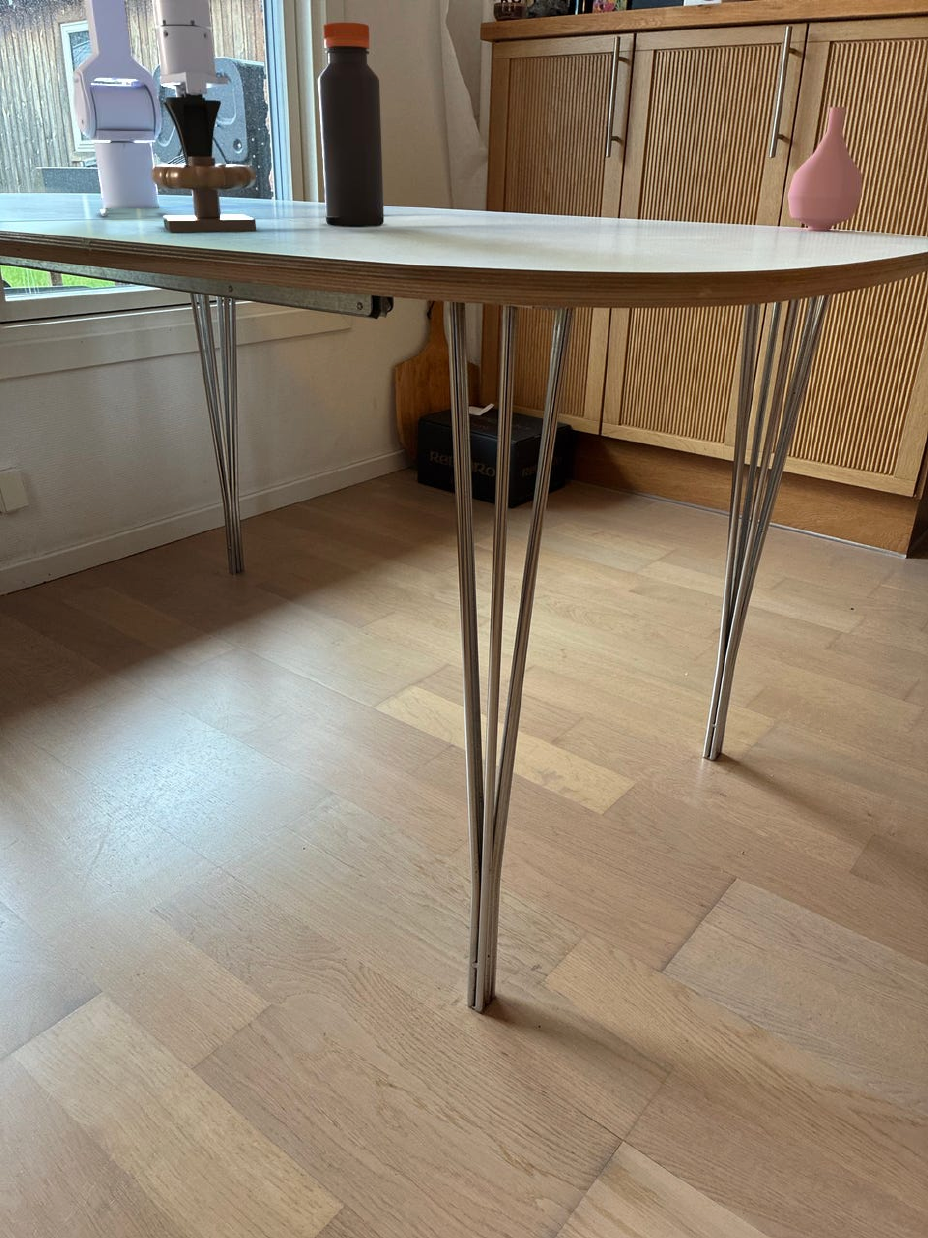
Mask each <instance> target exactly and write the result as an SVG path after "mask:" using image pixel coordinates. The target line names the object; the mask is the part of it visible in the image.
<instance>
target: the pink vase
mask: <svg viewBox="0 0 928 1238" xmlns="http://www.w3.org/2000/svg"><path fill="white" fill-rule="evenodd" d="M845 114H846V106H830V107H829V113H828V121H827V128H826V133H825V134H824V136H823V137H822V139H821V140H820V142H819V144H818V145H817V147H816V148H815V150H814V152H813V154H812V155H811V156H810V157H809V158H807V160H806V161H805V162H804V163H803V164H801V166H800V167H799V168H798V169H796V171H795V172H794V173H793V176H792V179H791V183H790V186H789V188H788V193H787V201H788V203H787V204H788V210H789V217H790V218H792V219H794V220H795V221H798V222H799V223H801V224H803V225H805V226H807V227H808V228H807V230H808V231H815V232H817V231H819V232H821V231H822V232H825V231H826V232H827V231H831V227H834V226H836V225H838V224H841V223H844V222H846V221H848V220H851V219H853V217H854V215H855V213H856V210H857V208H858V206H859V204H860V202H861V199H862V197H863V173H862V172H861V170H860V168H859V167H858V166H857V164H856V163H855V161H854V160H853V158H852V156H850V154H849V151H848V148H847V144H846V141H845V137H844V134H843V126H844V121H845V116H846V115H845Z"/></svg>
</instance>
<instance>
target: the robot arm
mask: <svg viewBox="0 0 928 1238" xmlns="http://www.w3.org/2000/svg"><path fill="white" fill-rule="evenodd" d="M83 2H84V9H85V15H86V23H87V29H88V37H89V43H90V48H91V49H90V50H91V53H90V55H89V56H88V57H86V58H85V59H84V60H83V61H82V62H81V63H80V64H78V65H77V67H76V68H75V69H74V71H73V74H72V85H73V86H72V87H73V110H74V115H75V119H76V123H77V126H78V129H79V130H80V132H81V133H82V134H83V135H84V136H85V138H87V139H89V142H93V146H94V147H93V148H94V154H95V161H96V165H97V166H96V167H97V173H98V174H97V175H98V178H99V186H100V193H101V199H102V200H101V201H102V204H103V205H102V206H103V209H100V212H101V213H100V214H101V216H102V217H107V216H108V212H107V209H152V208H153V209H154V208H160V201H159V193H158V186H157V185H156V184H155V183H154V182H153V180H152V177H151V173H152V170H153V168H154V167H155V162H154V155H153V147H152V142H153V143H155V142H156V139H157V138H158V137H159V134H161V130H162V126H163V116H162V108H161V107H162V106H161V103H160V99H159V96H158V94H157V90H156V89H157V88H156V83H155V79H154V77H153V74H152V73H151V72H150V71H149V70H148V69H147V68H146V67H144V65H142V64H141V63H140V62H139V61H137V60H136V59H135V57H133V55H132V50H131V42H130V34H129V27H128V19H127V18H128V17H127V12H126V11H127V10H126V5H125V0H83ZM151 2H152V3H151V4H152V9H153V10H152V11H153V21H154V29H155V37H156V44H157V53H158V61H159V68H160V69H159V70H160V76H159V85H161V86H163V87H167V88H171V89H174V90H175V96H168V97H167V96H166V97H165V101H164V102H163V106H164V108H165V111H166V112H167V114H168V116H169V117H170V119H171V122H172V124H173V126H174V128H175V131H176V135H177V137H178V140H179V144H180V148H181V153H182V156H183V158H184V163H185V164H188V165H189V161H188V157H213V146H214V145H213V143H214V134H215V133H214V132H215V126H216V121H217V117H218V114H219V111H220V108H221V104H222V101H221V100H215V99H211V100H210V99H206V98H205V97H204V96H203V95H207V94H208V89H209V88H216V87H217V88H218V87H219V86H225V87H226V86H228V85H229V79H228V77H224V76H223V77H221V76H217V72H216V62H215V53H214V44H213V42H214V41H213V32H212V23H211V21H212V20H211V11H210V2H209V0H151ZM96 81H100V82H101V81H102V82H103V81H104V82H121V83H122V82H125V83H130V85H127V84H106V83H105V84H102V83H100V84H99V83H94V82H96ZM131 84H132V85H131Z"/></svg>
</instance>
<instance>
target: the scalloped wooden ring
mask: <svg viewBox="0 0 928 1238" xmlns="http://www.w3.org/2000/svg"><path fill="white" fill-rule="evenodd" d="M151 177H152V180H153V182H154V183H155V184H156V185H157V188H160V189H164V190H184V191H185V190H188V191H192V190H218V191H222V190H242V189H250V188H251V187H253V186H254V185H255V184H256V181H257V175H256V172H255V171H254V169H253V168H252V167H251V166H249V165H244V164H232V163H231V164H227V163H223V164H222V163H216V166H189V165H188V164H186V163H177V164H176V163H175V164H174V163H172V164H171V163H170V164H157V165H156V166H155V165H154V168H153V170H152V173H151Z"/></svg>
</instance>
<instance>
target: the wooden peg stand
mask: <svg viewBox="0 0 928 1238" xmlns="http://www.w3.org/2000/svg"><path fill="white" fill-rule="evenodd" d="M188 161H189V166H216V164H217V163H216V157H215V156H212V157H188ZM219 191H220V190H191V194H192V202H193V212H194V215H163V216H162V217H163V226H164V228H165V229H166V230H167V231H168V233H171V234H182V233H184V234H185V233H186V234H187V233H188V234H189V233H223V232H224V233H227V232H229V233H230V232H231V233H232V232H234V233H235V232H257V224H256V223H257V222H256V219H255V218H253V217H250V216H248V215H245V214H222V211H221V202H220V193H219Z"/></svg>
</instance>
